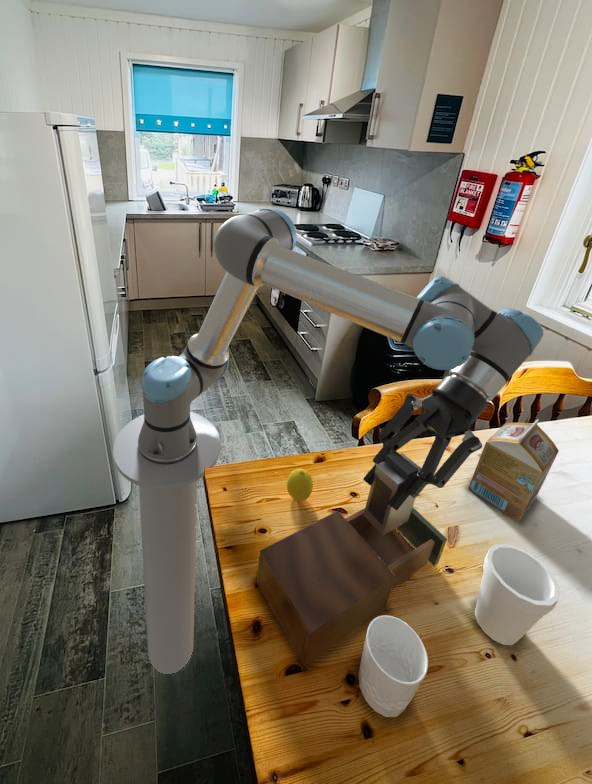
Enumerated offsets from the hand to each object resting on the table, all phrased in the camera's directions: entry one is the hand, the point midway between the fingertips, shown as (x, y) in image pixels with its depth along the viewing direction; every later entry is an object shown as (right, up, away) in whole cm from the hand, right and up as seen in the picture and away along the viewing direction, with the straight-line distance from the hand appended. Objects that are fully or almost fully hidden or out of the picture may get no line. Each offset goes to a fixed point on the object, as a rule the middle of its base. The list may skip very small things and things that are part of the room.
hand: (379, 494), depth 66 cm
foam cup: (+20, -22, 0) cm, 29 cm away
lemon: (-10, -11, +21) cm, 26 cm away
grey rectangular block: (+3, -7, +5) cm, 9 cm away
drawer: (+5, -16, +10) cm, 19 cm away
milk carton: (+38, -12, +26) cm, 47 cm away
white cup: (-3, -24, -8) cm, 26 cm away
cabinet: (-9, -19, +3) cm, 21 cm away
